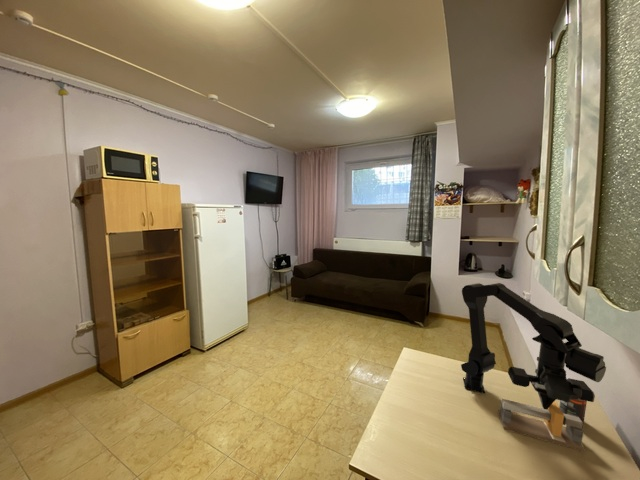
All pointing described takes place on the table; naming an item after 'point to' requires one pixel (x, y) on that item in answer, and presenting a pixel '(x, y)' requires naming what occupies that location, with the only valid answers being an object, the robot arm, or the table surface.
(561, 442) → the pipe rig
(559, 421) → the collar
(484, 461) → the table surface
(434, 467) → the table surface
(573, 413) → the supplement bottle
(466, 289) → the robot arm
